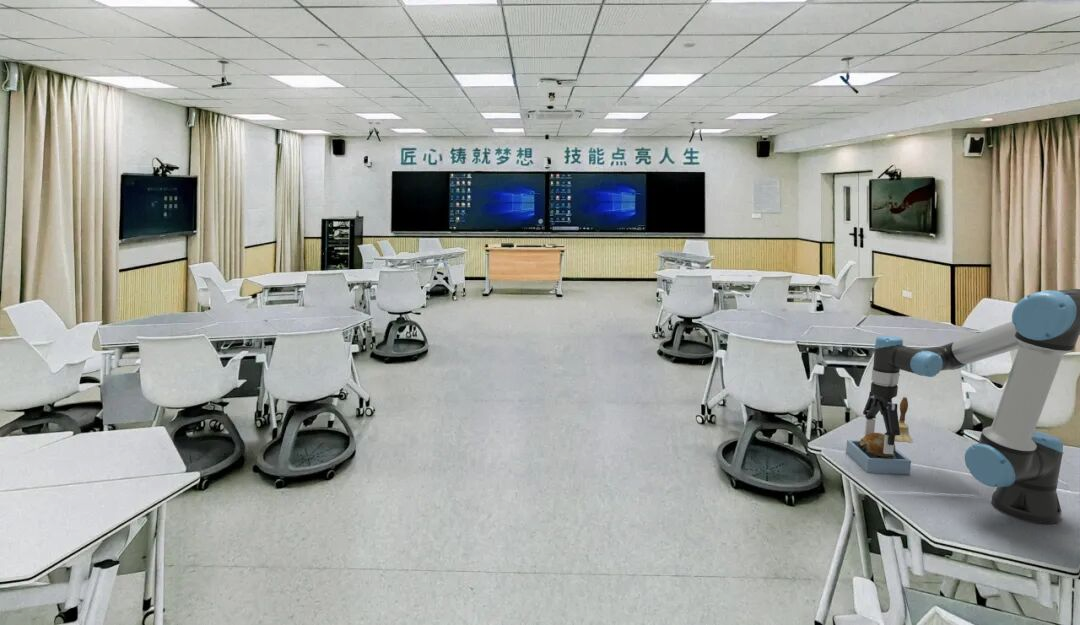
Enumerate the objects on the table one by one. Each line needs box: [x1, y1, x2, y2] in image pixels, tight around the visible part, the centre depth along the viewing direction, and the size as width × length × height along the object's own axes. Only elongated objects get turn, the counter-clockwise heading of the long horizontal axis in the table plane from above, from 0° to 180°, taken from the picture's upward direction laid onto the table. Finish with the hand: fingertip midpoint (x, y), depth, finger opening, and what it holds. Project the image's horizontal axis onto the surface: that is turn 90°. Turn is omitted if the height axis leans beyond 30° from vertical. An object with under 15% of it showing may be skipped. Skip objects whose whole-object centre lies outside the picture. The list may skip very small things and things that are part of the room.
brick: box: [860, 448, 896, 459], centre depth 193 cm, size 10×7×4 cm
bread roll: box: [859, 432, 896, 457], centre depth 192 cm, size 10×10×8 cm
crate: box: [845, 439, 912, 475], centre depth 193 cm, size 16×13×6 cm
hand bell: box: [895, 396, 914, 443], centre depth 216 cm, size 8×8×16 cm
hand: (878, 445), depth 192 cm, fingers open, 13 cm apart
